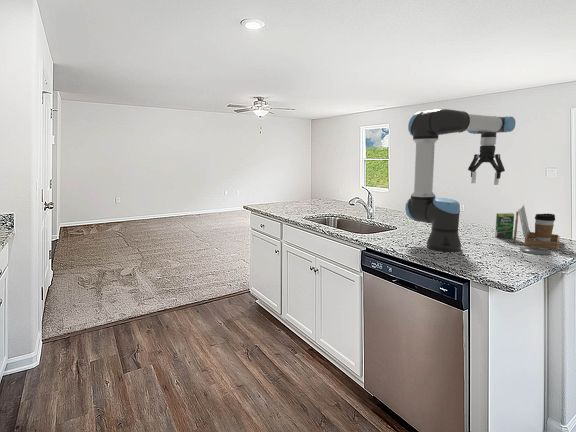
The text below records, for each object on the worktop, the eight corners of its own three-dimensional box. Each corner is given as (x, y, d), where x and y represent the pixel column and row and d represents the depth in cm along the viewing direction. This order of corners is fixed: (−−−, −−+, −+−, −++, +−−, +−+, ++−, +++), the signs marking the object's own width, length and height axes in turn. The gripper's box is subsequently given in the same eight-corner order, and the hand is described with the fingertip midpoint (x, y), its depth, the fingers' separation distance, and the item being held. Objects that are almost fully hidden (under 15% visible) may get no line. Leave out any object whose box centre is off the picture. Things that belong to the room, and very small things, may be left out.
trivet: (542, 256, 161) (542, 254, 161) (514, 250, 171) (514, 249, 171) (556, 252, 167) (556, 251, 167) (528, 247, 177) (528, 245, 177)
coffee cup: (555, 246, 179) (559, 215, 176) (536, 245, 180) (539, 215, 178) (547, 242, 187) (550, 213, 184) (528, 241, 188) (532, 212, 186)
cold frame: (558, 250, 171) (563, 212, 168) (512, 244, 182) (515, 209, 179) (559, 241, 188) (563, 207, 185) (516, 236, 199) (519, 204, 196)
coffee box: (496, 237, 197) (498, 213, 195) (494, 236, 200) (496, 212, 198) (512, 238, 196) (515, 214, 193) (510, 237, 198) (513, 213, 196)
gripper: (514, 144, 194) (510, 185, 197) (471, 146, 215) (468, 182, 219) (506, 144, 190) (502, 185, 193) (463, 145, 212) (460, 182, 215)
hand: (484, 184), depth 206 cm, fingers open, 13 cm apart
